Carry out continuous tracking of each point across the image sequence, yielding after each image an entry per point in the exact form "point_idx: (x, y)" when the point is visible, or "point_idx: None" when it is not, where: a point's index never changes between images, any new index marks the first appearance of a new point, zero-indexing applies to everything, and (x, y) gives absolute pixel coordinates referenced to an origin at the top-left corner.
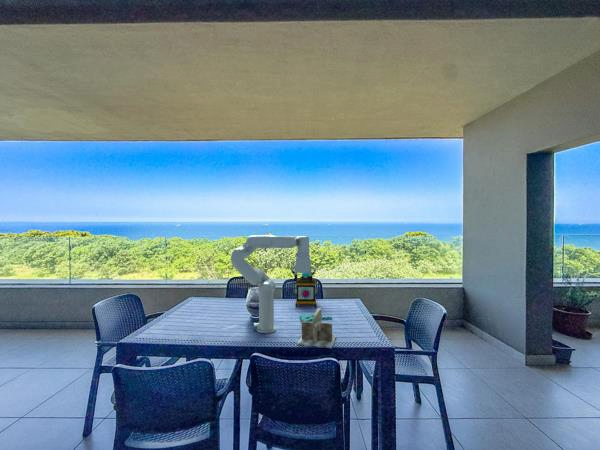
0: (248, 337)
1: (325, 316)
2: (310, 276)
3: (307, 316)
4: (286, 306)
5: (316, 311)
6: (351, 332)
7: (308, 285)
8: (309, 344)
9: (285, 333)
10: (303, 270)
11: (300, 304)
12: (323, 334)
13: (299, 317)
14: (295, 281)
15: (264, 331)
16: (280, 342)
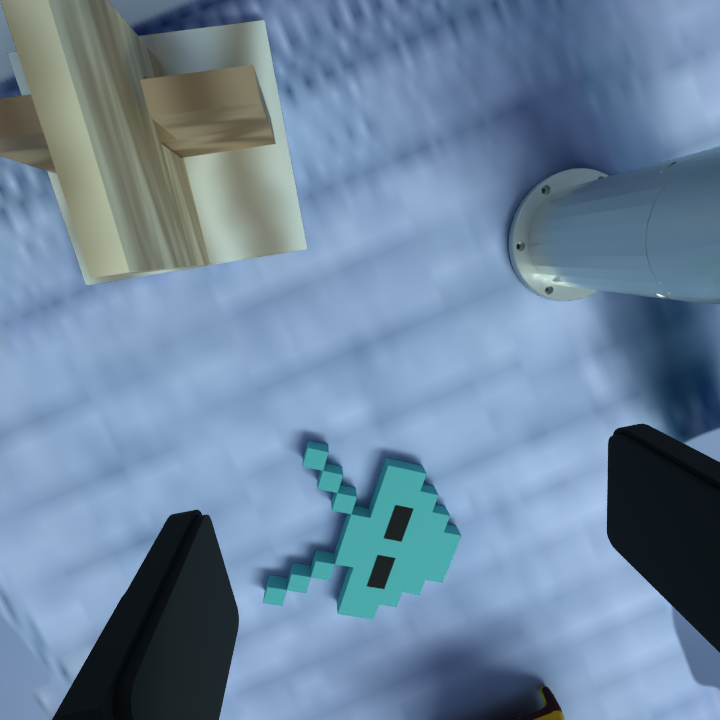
0: (627, 56)
1: (304, 591)
2: (79, 688)
3: (410, 547)
4: (604, 683)
5: (72, 107)
6: (43, 412)
7: None
8: (174, 32)
9: (430, 228)
10: None
11: (529, 714)
12: None
13: (457, 529)
14: (626, 428)
15: (565, 172)
16: (393, 40)
